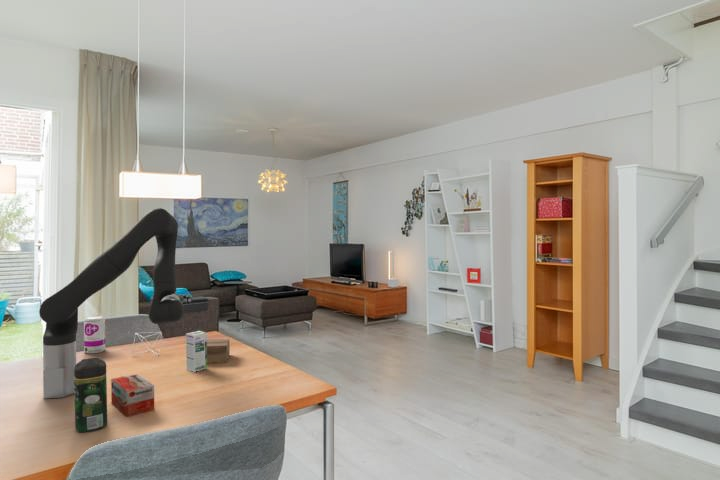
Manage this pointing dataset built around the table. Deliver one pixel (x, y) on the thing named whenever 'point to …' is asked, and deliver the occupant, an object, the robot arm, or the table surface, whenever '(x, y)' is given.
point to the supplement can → (94, 334)
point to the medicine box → (132, 394)
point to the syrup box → (196, 351)
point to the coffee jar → (90, 394)
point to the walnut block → (218, 350)
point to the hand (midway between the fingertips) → (172, 297)
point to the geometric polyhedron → (145, 344)
